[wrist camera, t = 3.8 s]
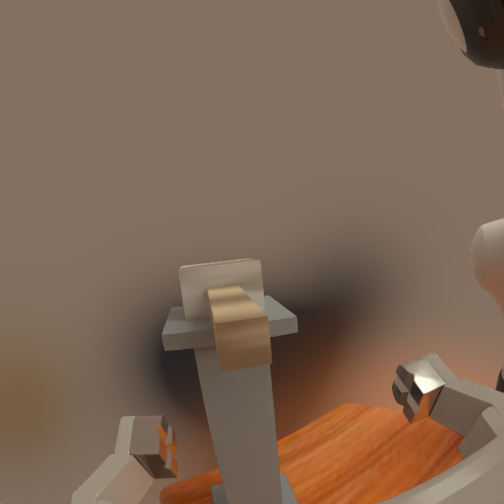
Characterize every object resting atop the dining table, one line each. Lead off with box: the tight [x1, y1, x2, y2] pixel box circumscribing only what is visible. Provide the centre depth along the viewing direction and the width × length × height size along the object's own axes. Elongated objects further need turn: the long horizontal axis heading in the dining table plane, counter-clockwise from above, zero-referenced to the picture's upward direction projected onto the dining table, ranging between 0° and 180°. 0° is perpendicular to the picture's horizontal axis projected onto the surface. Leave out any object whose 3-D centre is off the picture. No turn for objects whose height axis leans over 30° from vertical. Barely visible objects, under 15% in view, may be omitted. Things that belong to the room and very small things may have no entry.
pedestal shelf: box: [162, 296, 298, 504], centre depth 32 cm, size 12×11×32 cm
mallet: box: [179, 258, 272, 372], centre depth 26 cm, size 18×8×5 cm, turn 10°
